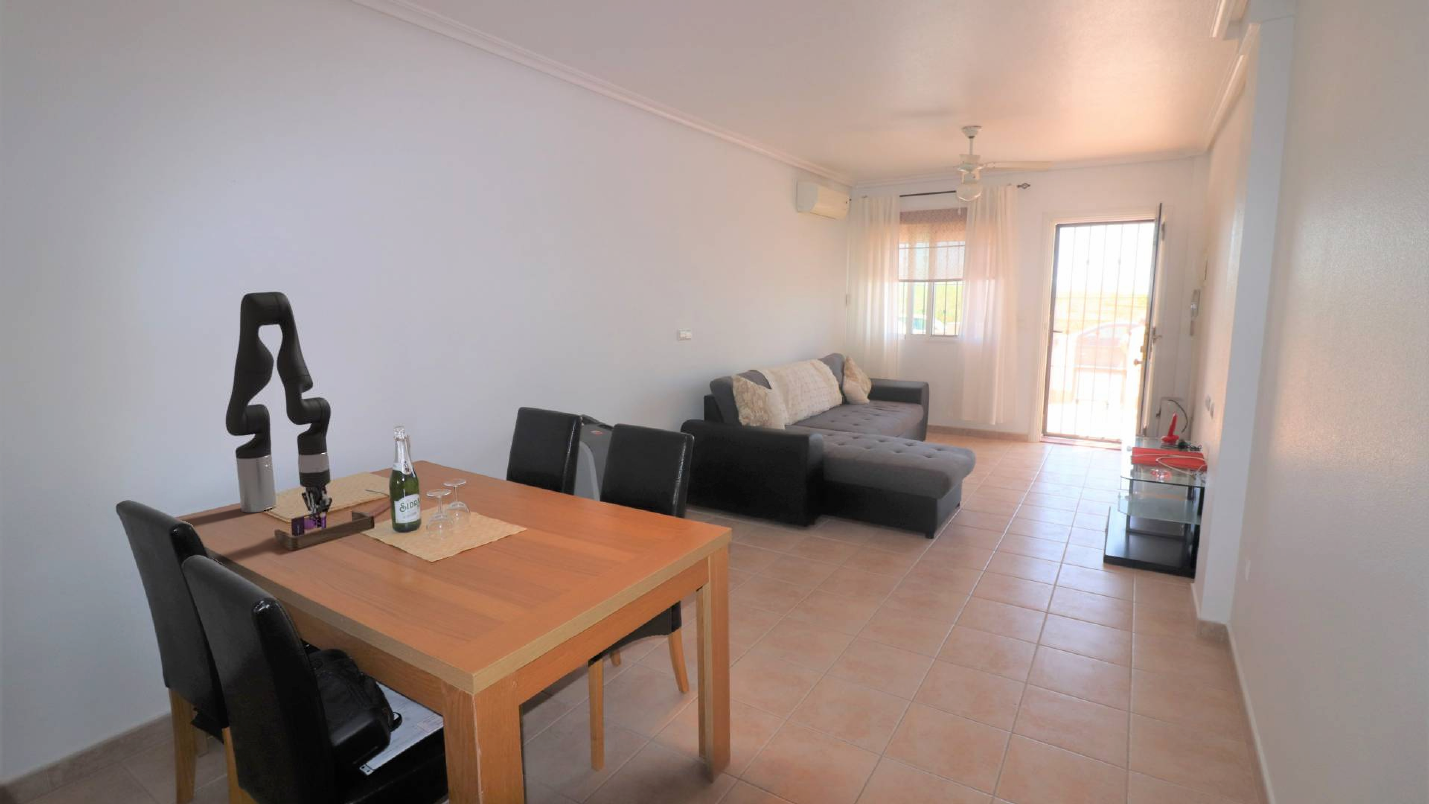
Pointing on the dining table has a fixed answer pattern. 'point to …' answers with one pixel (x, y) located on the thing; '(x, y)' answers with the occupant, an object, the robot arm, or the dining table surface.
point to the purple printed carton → (307, 523)
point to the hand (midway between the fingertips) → (319, 526)
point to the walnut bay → (326, 532)
